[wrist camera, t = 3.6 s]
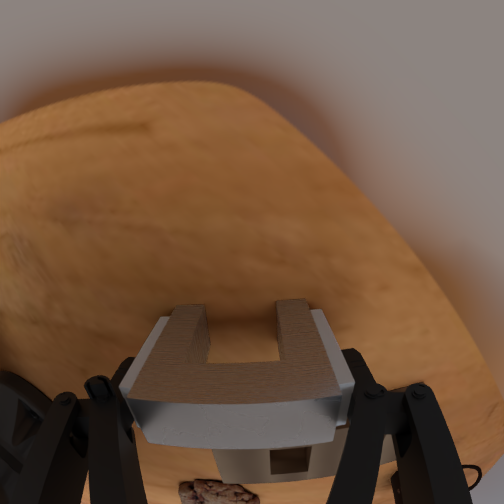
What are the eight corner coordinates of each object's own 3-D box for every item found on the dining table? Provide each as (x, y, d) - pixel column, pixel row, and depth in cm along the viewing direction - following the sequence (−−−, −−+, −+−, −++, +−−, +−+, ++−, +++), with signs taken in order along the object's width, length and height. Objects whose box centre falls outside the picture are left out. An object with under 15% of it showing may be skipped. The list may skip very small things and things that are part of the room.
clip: (184, 344, 18) (148, 442, 10) (176, 305, 17) (126, 397, 9) (304, 339, 18) (332, 441, 9) (305, 298, 17) (342, 394, 9)
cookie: (240, 510, 26) (240, 526, 23) (168, 492, 25) (165, 509, 22) (278, 488, 24) (279, 507, 21) (193, 468, 23) (189, 489, 20)
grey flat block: (225, 459, 22) (223, 483, 19) (212, 410, 19) (208, 437, 17) (400, 435, 21) (410, 455, 18) (423, 382, 19) (437, 403, 16)
